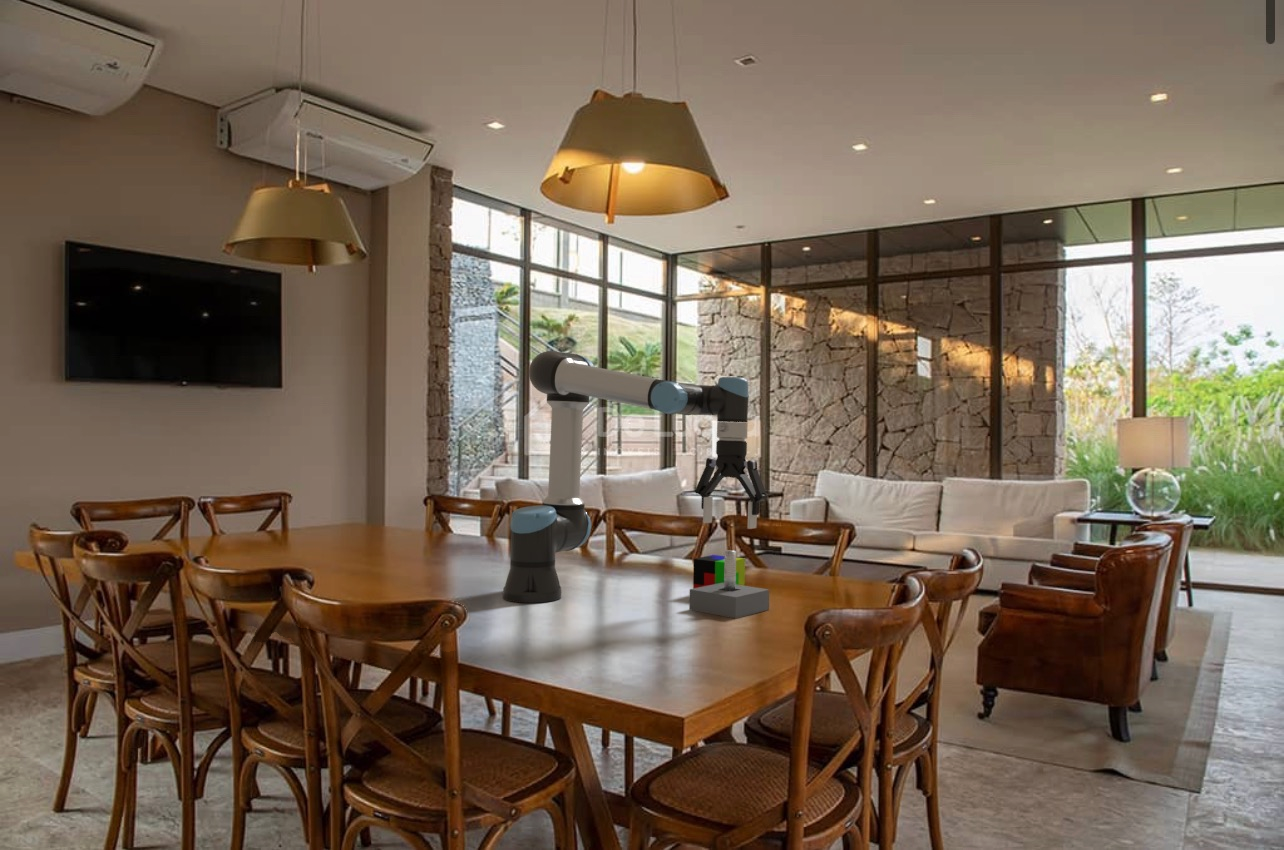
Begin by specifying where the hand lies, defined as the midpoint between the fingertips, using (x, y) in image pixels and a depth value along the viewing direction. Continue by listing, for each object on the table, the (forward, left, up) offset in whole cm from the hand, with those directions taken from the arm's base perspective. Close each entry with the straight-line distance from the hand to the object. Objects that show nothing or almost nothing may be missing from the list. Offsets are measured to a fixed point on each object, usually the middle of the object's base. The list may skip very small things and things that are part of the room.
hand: (729, 525), depth 214 cm
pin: (0, 0, -19) cm, 19 cm away
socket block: (0, 0, -21) cm, 21 cm away
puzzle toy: (-13, +13, -21) cm, 28 cm away
